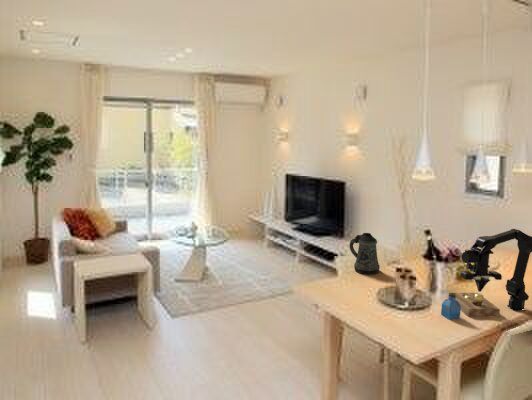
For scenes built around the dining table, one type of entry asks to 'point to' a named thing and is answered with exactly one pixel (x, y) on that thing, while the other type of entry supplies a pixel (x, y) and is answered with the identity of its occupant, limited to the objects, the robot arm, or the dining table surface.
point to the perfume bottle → (451, 307)
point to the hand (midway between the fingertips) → (479, 291)
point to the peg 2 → (478, 298)
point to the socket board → (476, 306)
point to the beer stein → (365, 254)
